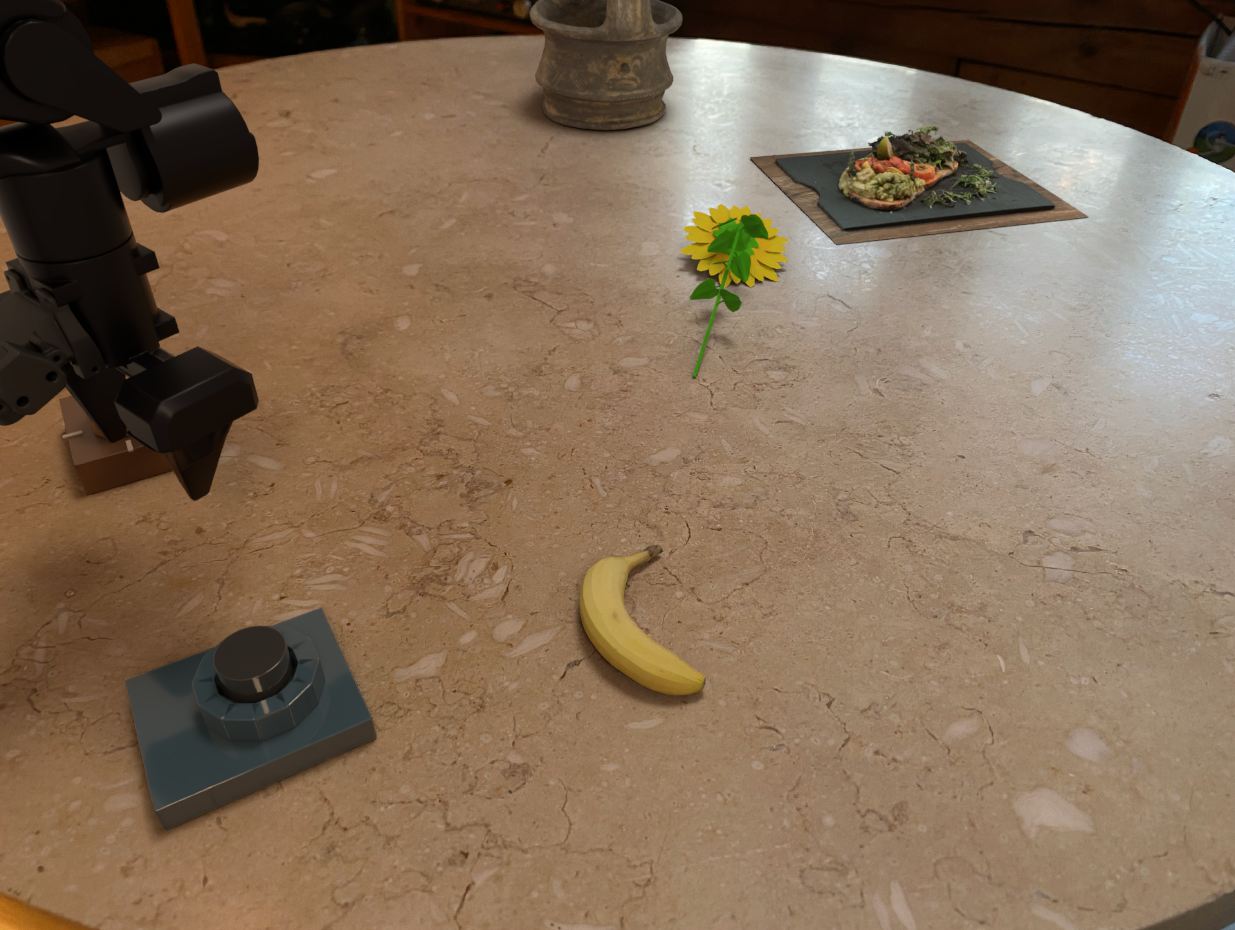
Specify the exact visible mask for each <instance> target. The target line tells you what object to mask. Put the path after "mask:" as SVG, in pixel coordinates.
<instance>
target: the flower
mask: <svg viewBox="0 0 1235 930" xmlns="http://www.w3.org/2000/svg"><path fill="white" fill-rule="evenodd" d="M708 211H709V214H707V213H704V212H702V211H697V210H694V211H693V212H692V213H693V216H694V218H691V222H692V223H693V224H694V225H685V226H683V228H682V229H683V231H684V232H685V233H687V235H686V236H684V239H685V240H687V241H690V242H693V243H690V244H687V245H686V246H684V247H683V248H682V249H680V250H679V253H681V254H683V255H686V256H691V259H692V260H700V261H698V263H697V267H696V270H697V271H699V272H705V271H707V270H708V273H709V275H710V276H715V275H717V274H718V283H719V284H720V285H716V280H715V279H714V278H711V277H707V278H706V279H704V280H703V281H701V282H700V283H699V284H697V286H696V287H695V288H694V290H693V291H692V293H691V294H690V296H689V300H690V301H693V300H694V301H699V300H710V299H713V298H715V297H716V299H715V302H714V305H713V308H712V312H711V315H710V318H709V321H708V325H707V328H706V331H705V334H704V337H703V341H702V344H701V347H700V350H699V354H698V356H697V360H696V363H695V366H694V370H693V373H692V378H694V379H697V376H698V373H699V369H700V366H701V363H702V361H703V357H704V354H705V350H706V347H707V344H708V340H709V337H710V334H711V331H712V328H713V324H714V320H715V318H716V315H717V312H718V308H719V305H721V303H724V304H725V307H726V308H727V309H728V310H729V311H730V312H732V313H735V312H737V311H739V310H740V309H741V306H742V303H743V302H742V301H741V298H740V297H739V295H737V294H735V293H733V292H731V291H729V290H728V289H725V288H727V287H729V285H730V284H731V283H732V281H733V282H734V283H735V284H736V285H738V284H739V283H740V282H741V281H742V282H743V283H745V284H746V285H747V286H748V287H750V288H752V287H754V286H755V280H756V279H757V280H758V281H761V282H764V280H765V278H767V279H769V280H771V281H774V282H779V276H778V275H777V273H776V271H775V270H774V269H776V270H781V269H782V267H781V264H780V263H788V262H789V260H788V258H787V257H786V255H784V254H782V253H784V252H786V251H787V248H786V247H785V246H783V245H785V244H787V243H788V242H789V241H790V240H789V239H788V238H787V237H783V236H780V235H777V234H778V233H779V228H776V227H771V226H772V224H773V219H770V218H763V217H762V214H761V213H760V212H756V213H752V211H751V209H750V207H749V206H748V205H746V206H743V207H741V208H739V207H738V206H737V205H733V206H731V208H730V209H729V208H728V207H727V206H726V205H725V204H722V203H720V204H718V205H717V208H715V207H709V208H708ZM721 299H722V300H721Z"/></svg>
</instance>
